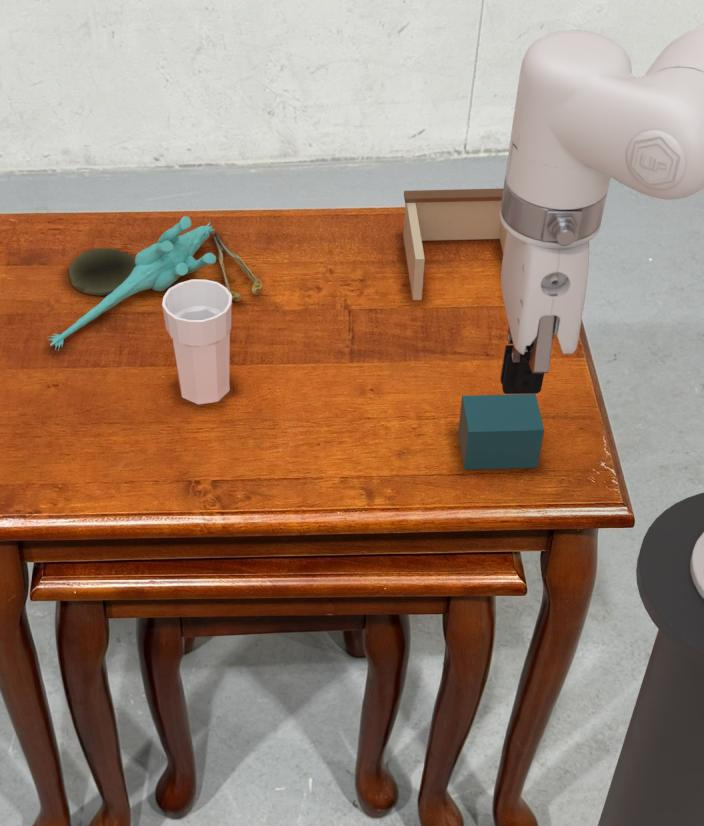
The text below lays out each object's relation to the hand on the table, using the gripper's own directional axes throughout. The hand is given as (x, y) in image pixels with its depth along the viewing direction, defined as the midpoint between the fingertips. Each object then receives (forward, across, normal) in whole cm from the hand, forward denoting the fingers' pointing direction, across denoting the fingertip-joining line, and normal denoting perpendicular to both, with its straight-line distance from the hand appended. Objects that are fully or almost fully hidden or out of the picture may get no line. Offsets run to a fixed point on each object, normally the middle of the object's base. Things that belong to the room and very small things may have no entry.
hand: (520, 387), depth 108 cm
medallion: (+14, +36, +39) cm, 55 cm away
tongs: (+15, +37, +25) cm, 47 cm away
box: (+14, +7, -1) cm, 16 cm away
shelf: (+14, +36, -1) cm, 39 cm away
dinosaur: (+10, +30, +32) cm, 45 cm away
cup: (+15, +17, +28) cm, 36 cm away
